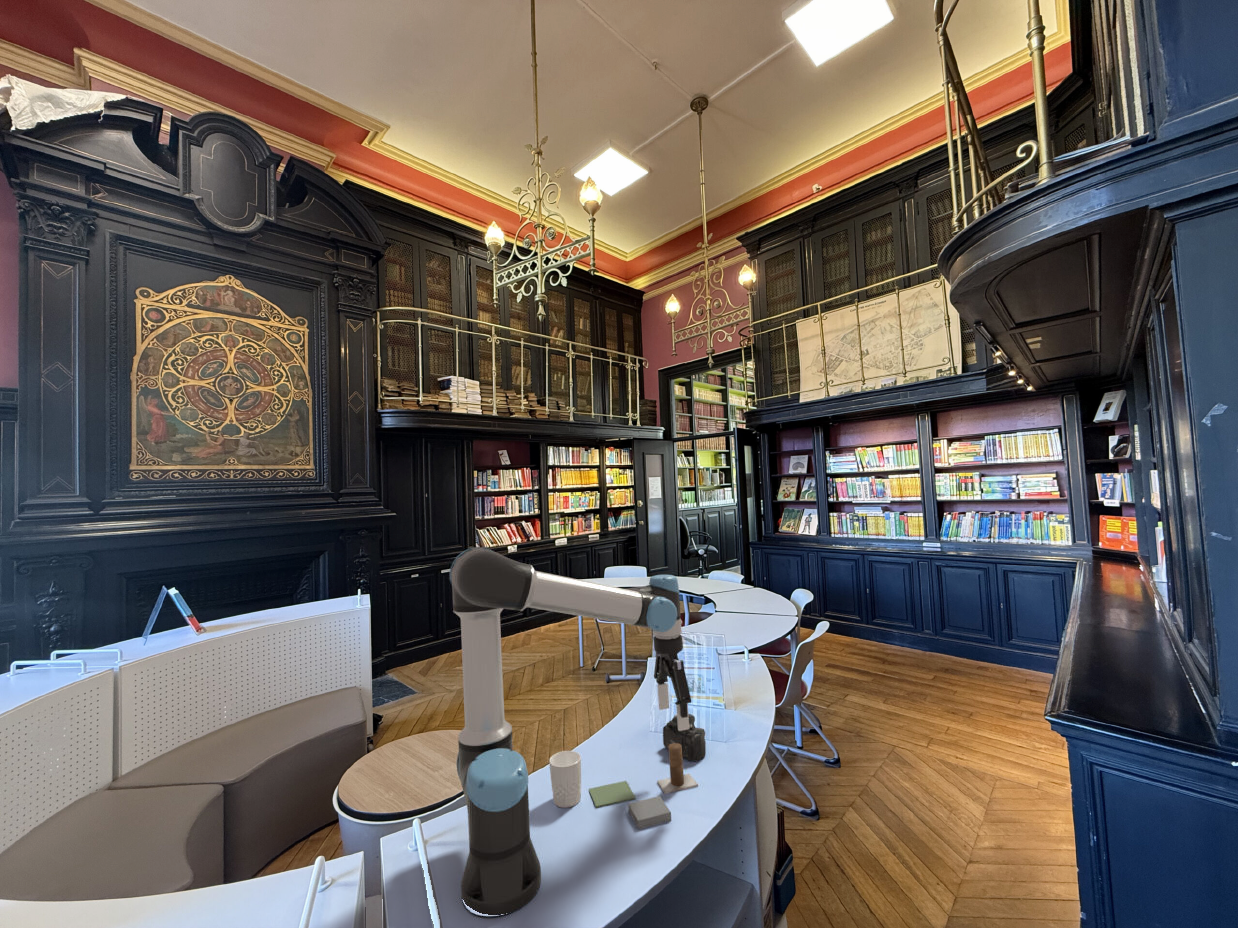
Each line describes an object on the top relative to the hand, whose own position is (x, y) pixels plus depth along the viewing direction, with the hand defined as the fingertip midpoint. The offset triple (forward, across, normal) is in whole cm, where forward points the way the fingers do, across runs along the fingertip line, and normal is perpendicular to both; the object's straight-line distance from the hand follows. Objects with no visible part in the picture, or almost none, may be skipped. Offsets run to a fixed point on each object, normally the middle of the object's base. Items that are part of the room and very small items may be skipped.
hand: (673, 718), depth 132 cm
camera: (+17, +15, -8) cm, 24 cm away
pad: (+16, +2, +17) cm, 24 cm away
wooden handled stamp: (+16, 0, 0) cm, 16 cm away
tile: (+16, -6, +11) cm, 20 cm away
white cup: (+16, +4, +28) cm, 33 cm away
